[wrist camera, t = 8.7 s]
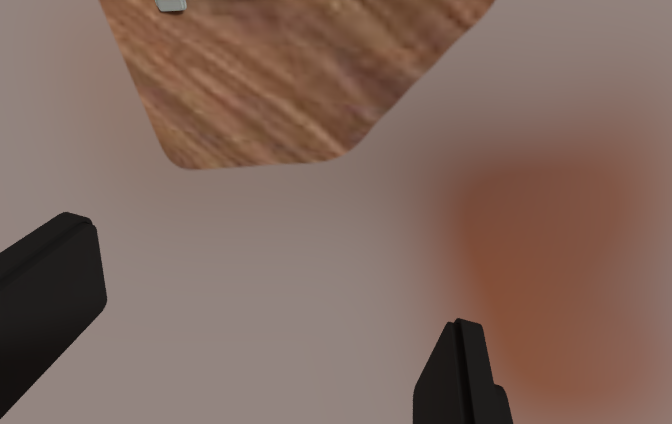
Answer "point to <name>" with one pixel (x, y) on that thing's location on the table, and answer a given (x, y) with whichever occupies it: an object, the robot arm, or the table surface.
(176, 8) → the metal bracket
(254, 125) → the table surface
